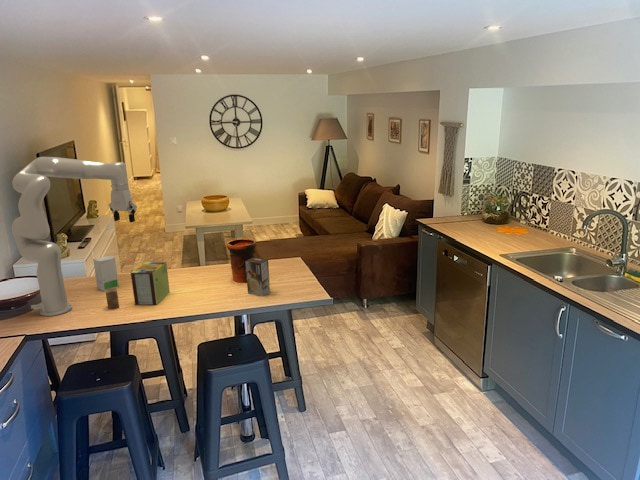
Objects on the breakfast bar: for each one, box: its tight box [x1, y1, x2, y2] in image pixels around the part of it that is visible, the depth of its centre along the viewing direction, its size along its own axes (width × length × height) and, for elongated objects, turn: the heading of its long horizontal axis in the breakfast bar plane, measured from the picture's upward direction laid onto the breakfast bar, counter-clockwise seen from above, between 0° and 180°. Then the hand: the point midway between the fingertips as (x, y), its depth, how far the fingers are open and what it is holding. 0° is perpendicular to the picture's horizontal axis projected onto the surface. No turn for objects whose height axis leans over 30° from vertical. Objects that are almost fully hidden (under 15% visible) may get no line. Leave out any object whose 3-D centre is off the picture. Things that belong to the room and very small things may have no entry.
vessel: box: [226, 238, 257, 285], centre depth 241 cm, size 14×14×20 cm
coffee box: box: [245, 257, 271, 297], centre depth 224 cm, size 9×6×16 cm
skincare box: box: [93, 255, 120, 292], centre depth 234 cm, size 8×7×16 cm
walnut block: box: [105, 288, 120, 311], centre depth 212 cm, size 4×4×8 cm
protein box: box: [130, 261, 171, 306], centre depth 220 cm, size 10×15×16 cm
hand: (124, 221), depth 240 cm, fingers open, 9 cm apart
